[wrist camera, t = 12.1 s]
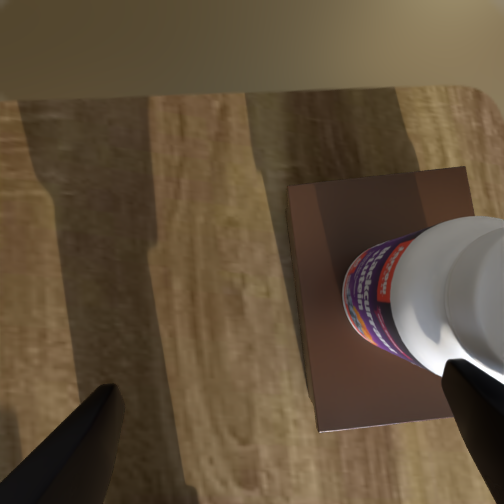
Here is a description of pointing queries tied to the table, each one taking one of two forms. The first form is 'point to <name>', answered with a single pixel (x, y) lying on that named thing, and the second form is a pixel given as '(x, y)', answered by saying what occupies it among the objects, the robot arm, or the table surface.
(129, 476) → the table surface
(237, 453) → the table surface
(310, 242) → the cabinet
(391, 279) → the pill bottle
